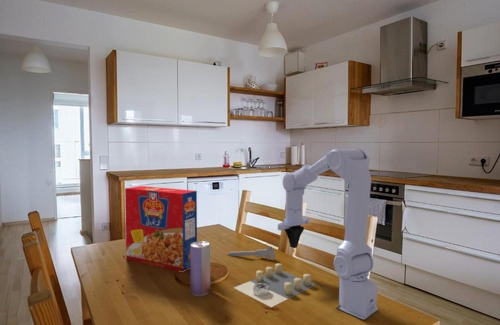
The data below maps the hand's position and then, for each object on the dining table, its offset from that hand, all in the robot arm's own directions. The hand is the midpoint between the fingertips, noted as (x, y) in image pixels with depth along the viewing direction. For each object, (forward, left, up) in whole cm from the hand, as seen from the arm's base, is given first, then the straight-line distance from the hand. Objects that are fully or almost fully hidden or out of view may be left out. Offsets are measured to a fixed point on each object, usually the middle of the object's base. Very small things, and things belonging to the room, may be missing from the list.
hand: (293, 247), depth 112 cm
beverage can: (+10, +32, -10) cm, 35 cm away
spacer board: (-4, +14, -9) cm, 17 cm away
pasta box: (+41, +29, -10) cm, 51 cm away
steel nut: (-4, +20, -8) cm, 22 cm away
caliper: (+21, +1, -10) cm, 23 cm away
